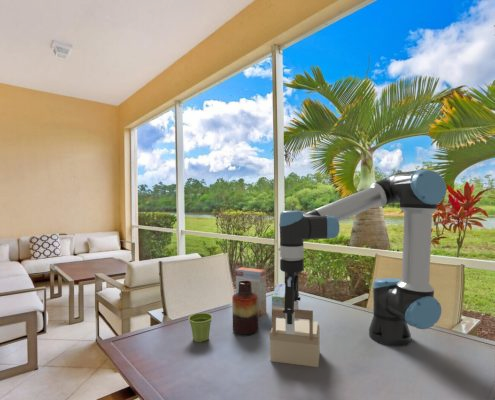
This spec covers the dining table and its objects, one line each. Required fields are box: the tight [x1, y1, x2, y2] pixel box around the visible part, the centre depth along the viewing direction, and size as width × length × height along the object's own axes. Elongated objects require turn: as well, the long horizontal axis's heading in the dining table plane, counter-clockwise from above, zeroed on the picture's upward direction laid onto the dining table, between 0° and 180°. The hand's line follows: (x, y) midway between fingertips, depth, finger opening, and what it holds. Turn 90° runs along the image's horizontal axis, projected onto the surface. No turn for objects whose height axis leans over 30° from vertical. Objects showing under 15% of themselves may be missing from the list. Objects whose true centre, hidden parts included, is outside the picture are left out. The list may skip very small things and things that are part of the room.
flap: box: [270, 307, 319, 341], centre depth 109 cm, size 15×14×9 cm
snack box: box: [271, 283, 285, 319], centre depth 141 cm, size 21×6×15 cm, turn 168°
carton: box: [269, 324, 321, 368], centre depth 111 cm, size 16×10×10 cm, turn 75°
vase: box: [231, 281, 259, 337], centre depth 134 cm, size 11×11×20 cm
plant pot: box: [188, 312, 214, 343], centre depth 126 cm, size 9×9×9 cm
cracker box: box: [235, 266, 267, 317], centre depth 155 cm, size 14×6×21 cm, turn 58°
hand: (292, 326), depth 103 cm, fingers open, 10 cm apart
